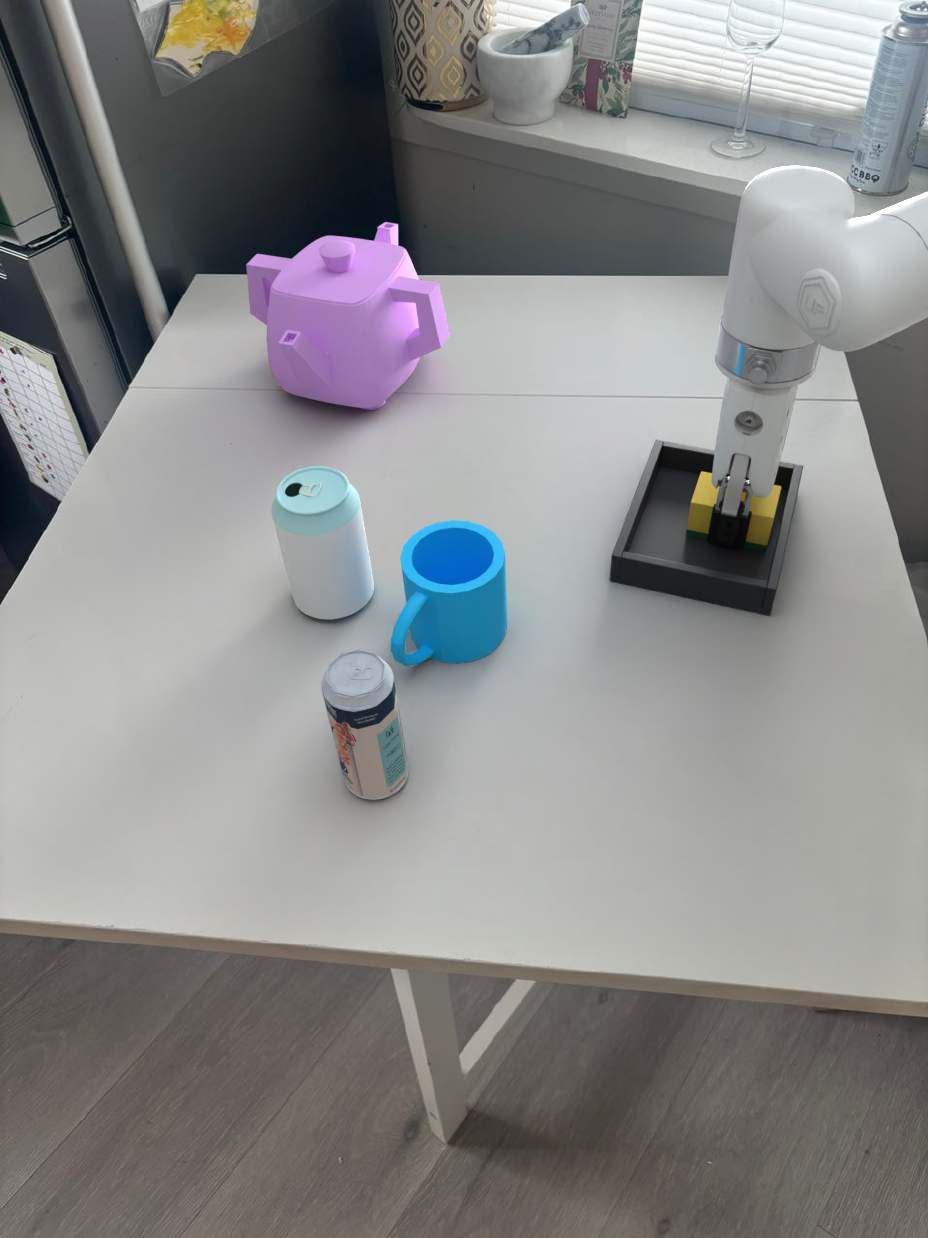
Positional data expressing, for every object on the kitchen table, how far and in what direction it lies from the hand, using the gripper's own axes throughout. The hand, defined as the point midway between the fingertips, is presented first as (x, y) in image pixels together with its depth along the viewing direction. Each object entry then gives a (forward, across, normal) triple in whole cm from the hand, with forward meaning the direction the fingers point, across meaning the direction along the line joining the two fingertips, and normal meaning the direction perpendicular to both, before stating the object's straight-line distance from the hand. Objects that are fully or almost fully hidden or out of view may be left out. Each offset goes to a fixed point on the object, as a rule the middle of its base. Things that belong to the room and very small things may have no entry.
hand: (731, 523), depth 88 cm
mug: (+1, -20, +20) cm, 28 cm away
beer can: (+1, -34, +20) cm, 39 cm away
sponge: (+1, 0, 0) cm, 1 cm away
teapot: (+2, +13, +43) cm, 45 cm away
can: (+2, -18, +31) cm, 36 cm away
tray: (+1, -1, +2) cm, 2 cm away
